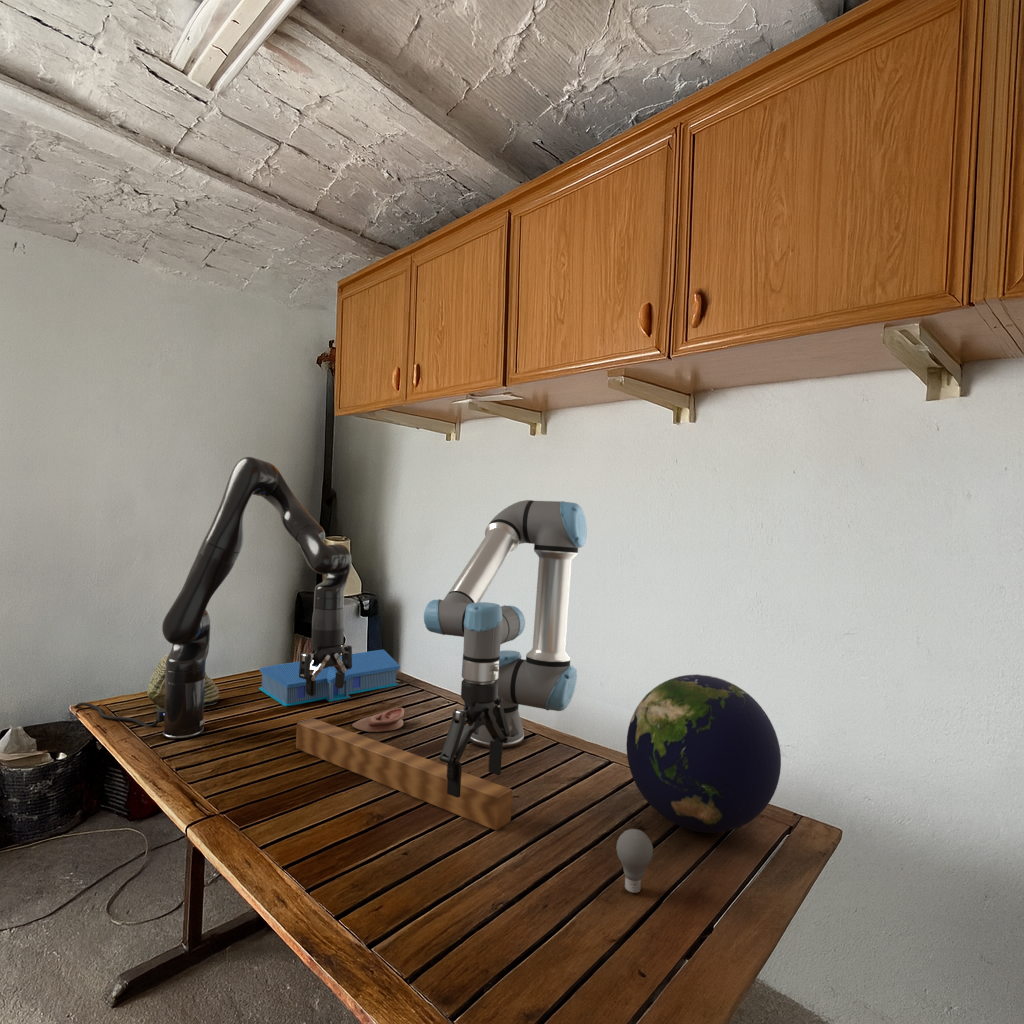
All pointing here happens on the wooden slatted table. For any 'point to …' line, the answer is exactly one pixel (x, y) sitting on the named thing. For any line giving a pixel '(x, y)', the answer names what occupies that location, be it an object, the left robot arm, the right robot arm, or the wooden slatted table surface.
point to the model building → (330, 679)
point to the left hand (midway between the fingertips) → (325, 691)
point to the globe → (703, 753)
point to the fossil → (158, 687)
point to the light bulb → (634, 857)
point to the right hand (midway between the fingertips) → (474, 783)
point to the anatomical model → (381, 721)
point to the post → (406, 772)
